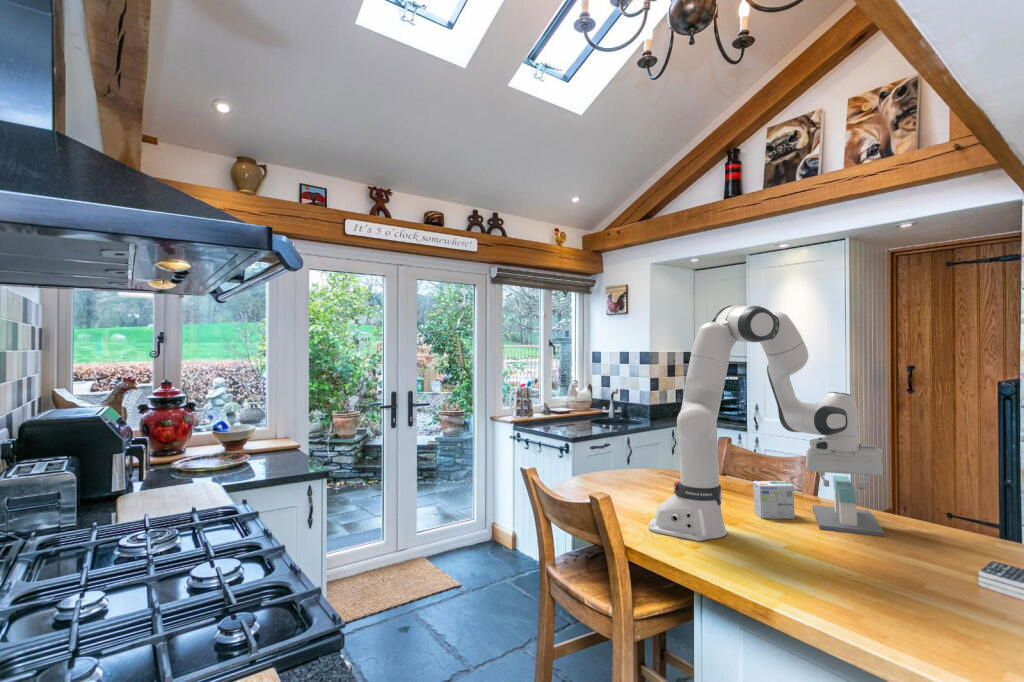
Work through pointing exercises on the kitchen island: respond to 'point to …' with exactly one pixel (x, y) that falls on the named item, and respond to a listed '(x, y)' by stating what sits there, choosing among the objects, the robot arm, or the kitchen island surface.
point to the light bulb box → (773, 499)
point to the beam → (844, 489)
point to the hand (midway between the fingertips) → (843, 487)
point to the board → (835, 525)
